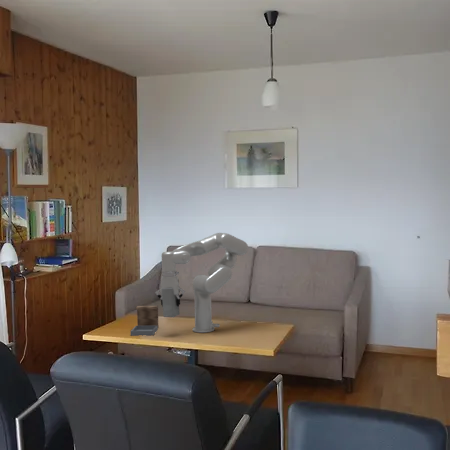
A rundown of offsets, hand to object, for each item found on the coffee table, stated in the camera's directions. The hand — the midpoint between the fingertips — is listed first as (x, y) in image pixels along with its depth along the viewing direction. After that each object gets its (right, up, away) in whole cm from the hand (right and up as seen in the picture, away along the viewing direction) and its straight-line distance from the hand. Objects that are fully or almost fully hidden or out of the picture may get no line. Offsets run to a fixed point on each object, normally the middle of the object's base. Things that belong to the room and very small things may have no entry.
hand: (170, 305), depth 299 cm
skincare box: (0, -6, 0) cm, 6 cm away
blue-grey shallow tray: (-16, -16, +8) cm, 24 cm away
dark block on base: (-15, -16, +17) cm, 28 cm away
